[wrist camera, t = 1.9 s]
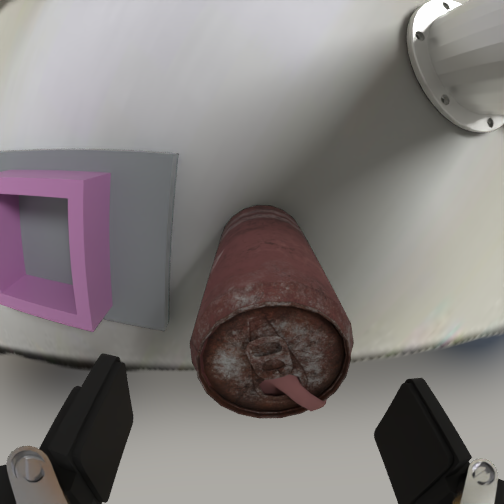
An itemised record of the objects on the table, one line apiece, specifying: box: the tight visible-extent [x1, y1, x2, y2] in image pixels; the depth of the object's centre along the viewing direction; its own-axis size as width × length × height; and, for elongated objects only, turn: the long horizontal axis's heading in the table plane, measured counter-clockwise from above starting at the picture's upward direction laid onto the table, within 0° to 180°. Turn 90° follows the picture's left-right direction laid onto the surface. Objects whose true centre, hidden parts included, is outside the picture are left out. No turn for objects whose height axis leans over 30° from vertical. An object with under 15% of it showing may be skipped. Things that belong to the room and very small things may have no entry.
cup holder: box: [0, 149, 178, 332], centre depth 20 cm, size 20×14×6 cm
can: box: [190, 205, 354, 418], centre depth 16 cm, size 6×6×14 cm
